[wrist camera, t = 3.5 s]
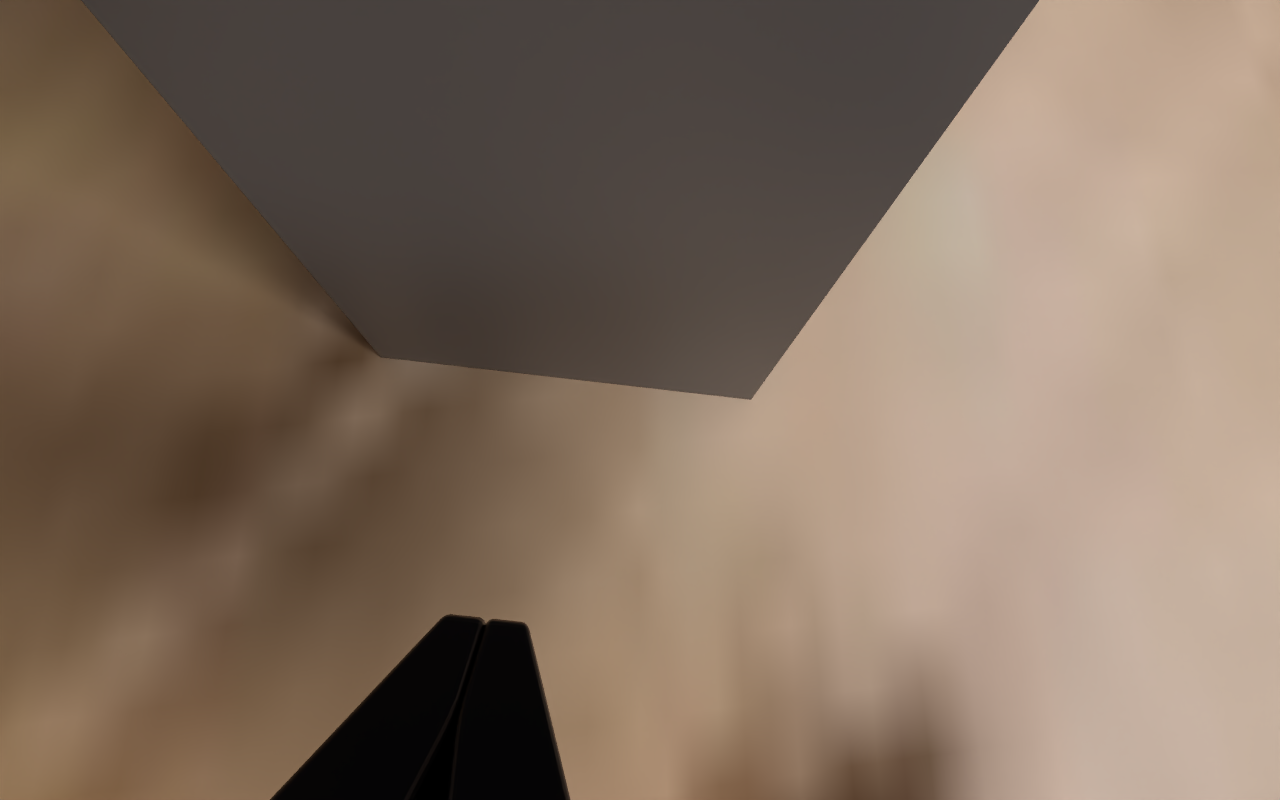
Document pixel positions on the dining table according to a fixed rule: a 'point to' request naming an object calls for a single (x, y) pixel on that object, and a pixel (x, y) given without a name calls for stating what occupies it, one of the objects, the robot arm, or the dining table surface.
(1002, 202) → the dining table surface
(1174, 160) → the dining table surface
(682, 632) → the dining table surface
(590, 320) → the chute block
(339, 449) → the dining table surface
